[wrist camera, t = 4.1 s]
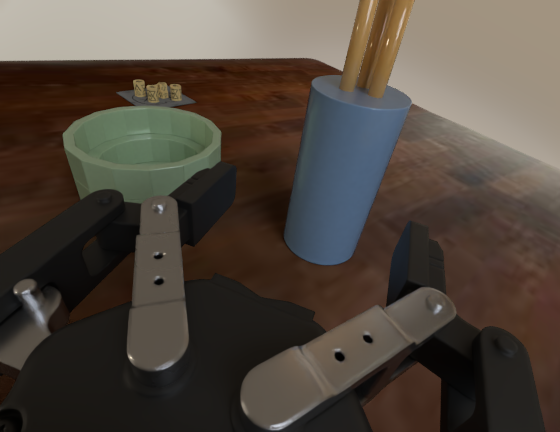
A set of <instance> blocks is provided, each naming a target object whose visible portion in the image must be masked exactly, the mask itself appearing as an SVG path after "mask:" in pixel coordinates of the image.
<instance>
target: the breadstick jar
mask: <svg viewBox="0 0 560 432" xmlns="http://www.w3.org/2000/svg"><path fill="white" fill-rule="evenodd" d="M414 1H415V0H379V3H378V0H360V2H359V6H358V11H357V15H356V19H355V23H354V27H353V32H352V35H351V40H350V44H349V48H348V52H347V56H346V61H345V65H344V69H343V73H342V76H339V75H329V76H321V77H317V78H315V79H314V80H313V81H312V83H311V88H310V93H309V98H308V104H307V109H306V115H305V120H304V125H303V131H302V136H301V142H300V147H299V153H298V158H297V163H296V169H295V174H294V180H293V185H292V190H291V196H290V201H289V207H288V212H287V217H286V223H285V228H284V239H285V242H286V244H287V246H288V247H289V248H290V250H291V251H292V252H293V253H295V254H296V255H297V256H299V257H300V258H302V259H304V260H306V261H308V262H311V263H315V264H320V265H336V264H340V263H343V262H345V261H347V260H348V259H349V258H351V257H352V255H353V254H354V252H355V249H356V247H357V244H358V241H359V239H360V236H361V234H362V231H363V229H364V226H365V223H366V221H367V218H368V216H369V213H370V211H371V208H372V205H373V203H374V200H375V198H376V195H377V193H378V190H379V187H380V185H381V182H382V180H383V177H384V175H385V172H386V169H387V167H388V164H389V162H390V159H391V156H392V154H393V151H394V149H395V146H396V144H397V141H398V138H399V136H400V133H401V131H402V128H403V126H404V123H405V120H406V118H407V115H408V113H409V110H410V108H411V105H412V101H411V99H410V98H409V97H408V96H407V95H406V94H404V93H403V92H401V91H399V90H397V89H395V88H392V87H390V86H388V85H387V83H388V80H389V77H390V74H391V71H392V68H393V65H394V62H395V59H396V56H397V53H398V50H399V47H400V44H401V40H402V38H403V34H404V31H405V28H406V25H407V22H408V19H409V16H410V13H411V10H412V7H413V4H414ZM377 4H378V6H377ZM376 7H377V10H376ZM375 11H376V14H375ZM374 15H375V18H374ZM373 19H374V21H373ZM372 22H373V25H372ZM371 26H372V28H371ZM370 30H371V32H370ZM369 34H370V36H369ZM368 37H369V40H368ZM367 41H368V43H367ZM366 45H367V47H366ZM365 48H366V51H365ZM364 52H365V54H364ZM363 56H364V58H363ZM362 60H363V62H362ZM361 63H362V65H361ZM360 67H361V69H360ZM359 71H360V73H359ZM358 75H359V77H358Z"/></svg>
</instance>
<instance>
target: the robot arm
mask: <svg viewBox="0 0 560 432" xmlns="http://www.w3.org/2000/svg"><path fill="white" fill-rule="evenodd" d="M236 172H237V170H236V166H234V165H231V164H228V163H225V162H221V161H220V162H218V163H217V164H216V165H215V166H213V167H212V168H211V169H209V168H206V169H203V170H200V171H198V172H196V173H195V174H194V175H193V176H191V178H189V179H188V180H186V182H184V183H183V184H181V185H180V186H179V187H178V188H176V189H175V190H174V191H173V192H172V193H170V194H169V195H168V196H164V195H158V196H153V197H150V198H147V199H146V200H144V201H143V203H132V202H124V198H123V194H122V193H121V192H119V191H117V190H114V189H102V190H98V191H95V192H92V193H90V194H89V195H87V196H86V197H84V198H83V199H81V200H80V201H79V202H77V203H76V204H74V205H73V206H71V207H70V208H68V209H67V210H65V211H64V212H62V213H61V214H59V215H58V216H56V217H55V218H53V219H52V220H50V221H49V222H47V223H46V224H45V225H43V226H42V227H40V228H39V229H37V230H36V231H34V232H33V233H31V234H30V235H28V236H27V237H25V238H24V239H22V240H21V241H19V242H18V243H16V244H15V245H13V246H12V247H10V248H9V249H8V250H6V251H5V252H3V253H2V254H0V376H2V375H6V376H9V377H11V378H13V379H16V382H15V383H14V385H13V387H12V389H11V391H10V392H9V394H8V395H7V397H6V398H5V400H4V401H3V402H2V404H1V405H0V432H373V431H372V429H371V427H370V424H369V422H368V419H367V417H366V415H365V412H364V410H363V408H362V407H363V406H365V405H366V404H367V403H369V402H370V401H371V400H372V399H373V398H374V397H375V396H376V395H377V394H378V393H379V392H380V391H381V390H382V389H383V388H385V387H386V386H387V385H388V384H390V383H391V382H392V381H394V380H395V379H396V378H398V377H399V376H400V375H402V374H403V373H404V372H406V371H407V370H408V369H410V368H411V367H412V366H414V365H415V364H416V363H418V362H419V363H420V364H422V365H423V366H425V367H426V368H427V369H429V370H430V371H432V372H433V373H434V374H436V375H437V376H438V377H440V378H441V416H440V432H546V431H545V427H544V422H543V418H542V413H541V409H540V404H539V399H538V395H537V390H536V386H535V381H534V377H533V372H532V367H531V363H530V358H529V355H528V352H527V350H526V348H525V347H524V345H523V344H522V343H521V342H520V341H519V340H518V339H517V338H516V337H515V336H513V335H512V334H511V333H509V332H507V331H506V330H503V329H501V328H498V327H493V326H489V327H485V328H484V329H482V331H480V330H479V329H477V328H476V327H474V326H472V325H471V324H469V323H467V322H466V321H464V320H463V319H461V318H460V317H459V316H458V315H457V314H456V309H455V306H454V304H453V302H452V301H451V300H450V299H449V298H448V297H447V296H446V285H445V271H444V262H443V261H444V258H443V251H442V249H441V247H440V246H439V244H438V242H437V241H433V240H430V239H429V236H428V226H426V225H422V224H419V223H416V222H413V221H409V222H408V223H407V225H406V227H405V229H404V231H403V233H402V235H401V238H400V240H399V242H398V244H397V246H396V248H395V250H394V253H393V256H392V261H391V269H390V278H389V286H388V295H387V303H386V307H385V308H382V307H381V306H380V305H376V306H374V307H372V308H370V309H368V310H366V311H364V312H363V313H361V314H359V315H357V316H355V317H354V318H352V319H350V320H348V321H346V322H345V323H343V324H341V325H339V326H337V327H336V328H334V329H332V330H330V331H328V332H326V331H325V330H324V329H323V328H322V327H321V326H320V325H319V324H318V323H316V322H315V321H313V317H314V314H315V312H314V311H312V310H309V309H306V308H304V307H301V306H299V305H296V304H294V303H291V302H287V301H281V300H275V299H268V298H263V297H260V296H258V295H257V294H255V293H254V292H252V291H251V290H250V289H248V288H247V287H245V286H244V285H242V284H241V283H239V282H237V281H235V280H232V279H230V278H227V277H224V276H222V275H219V274H217V273H215V274H214V276H213V277H212V278H211V280H205V279H198V280H190V281H185V282H184V277H183V265H182V253H181V247H182V246H183V245H184V244H188V245H190V246H193V247H194V246H195V245H196V244H197V243H198V242H199V241H200V240H201V238H202V237H203V236H204V235H205V234H206V233H207V232H208V231H209V229H210V228H211V227H212V226H213V225H214V224H215V223H216V222H217V220H218V219H219V218H220V217H221V216H222V215H223V214H224V213H225V212H226V210H227V209H228V208H229V207H230V206H231V205H232V203H233V201H234V198H235V191H236ZM95 235H96V237H97V239H96V240H95V241H94V242H93V243H92V244H90V245H89V246H88V247H87V248H86V249H84V250H83V247H84V245H85V244H86V243H87V242H88V241H89V240H90V239H91V238H93V237H94V236H95ZM82 250H83V251H82ZM130 252H135V263H134V279H133V294H132V301H130V302H127V303H125V304H122V305H119V306H117V307H114V308H111V309H108V310H106V311H103V312H100V313H98V314H95V315H92V316H90V317H87V318H84V319H81V320H79V321H76V322H73V323H71V324H68V322H69V319H70V312H71V311H72V310H73V309H74V308H75V307H76V306H77V305H78V304H79V303H80V302H81V301H82V300H83V299H84V298H85V297H86V296H87V295H88V294H89V293H90V292H91V291H92V290H93V289H94V288H95V287H96V286H97V285H98V284H99V283H100V282H101V281H102V280H103V279H104V278H105V277H106V276H107V275H108V274H109V273H110V272H111V271H112V270H113V269H114V268H115V267H116V266H117V265H118V264H119V263H120V262H121V261H122V260H123V259H124V258H125V257H126V256H127V255H128V254H129V253H130ZM67 324H68V325H67Z"/></svg>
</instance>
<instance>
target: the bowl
mask: <svg viewBox="0 0 560 432" xmlns="http://www.w3.org/2000/svg"><path fill="white" fill-rule="evenodd" d="M63 142H64V149H65V152H66V155H67V158H68V162H69V165H70V168H71V171H72V174H73V177H74V180H75V184H76V187H77V190H78V193H79V196H80V199H83V198H84V197H86V196H87V195H89V194H90V193H92V192H95V191H98V190H102V189H114V190H117V191H119V192H121V193H122V194H123V198H124V202H132V203H143V201H144V200H146V199H147V198H150V197H153V196H158V195H164V196H168V195H169V194H170V193H172V192H173V191H174V190H175V189H176V188H178V187H179V186H180V185H181V184H183V183H184V182H186V180H188V179H189V178H191V176H193V175H194V174H195V173H196V172H198V171H200V170H203V169H206V168H209V169H211V168H212V167H213V166H215V165H216V164H217V163H218V162H220V161H221V131H220V130H219V129H218V128H217V127H216V126H215V125H214V123H213V122H212V121H210V120H208V119H206V118H204V117H202V116H200V115H198V114H196V113H193V112H188V111H184V110H180V109H176V108H170V107H158V106H131V107H118V108H113V109H108V110H104V111H99V112H95V113H92V114H90V115H88V116H86V117H83V118H81V119H79V120H77V121H75V122H73V123H72V125H71V126H70V127H69V128H68V129H67V130H66V131H65V132H64V133H63Z"/></svg>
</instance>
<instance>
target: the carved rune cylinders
mask: <svg viewBox="0 0 560 432" xmlns="http://www.w3.org/2000/svg"><path fill="white" fill-rule="evenodd" d="M133 83H134V95H135V96H136V97H146V96H147V101H148V102H150V103H158V102H159V101H160V98H162V99H166V98H168V97H169V91H170V99H171V100H172V101H181V100H182V99H183V97H182V94H181V86H180V85H178V84H172V85H170V87H169V91H168V86H167V84H166V83H165V82H162V83H158V84H156V85H155V86H154V85H148V86H146V87H147V88H146V89H145V83H144V81H143V80H134V81H133Z"/></svg>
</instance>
